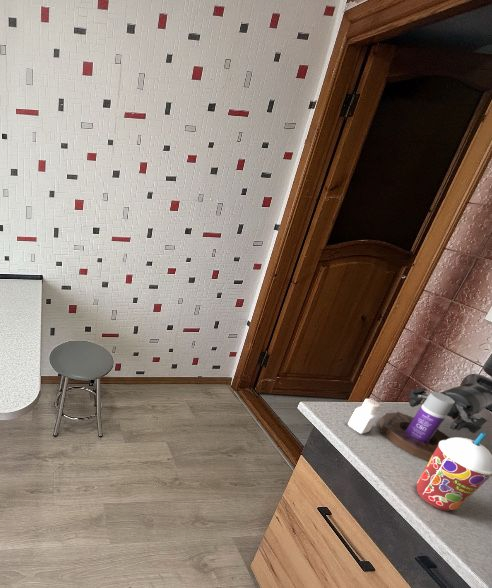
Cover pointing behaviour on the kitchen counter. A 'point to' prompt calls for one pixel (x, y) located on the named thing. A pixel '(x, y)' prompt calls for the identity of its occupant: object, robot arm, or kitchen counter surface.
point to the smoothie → (455, 472)
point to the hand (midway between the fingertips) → (432, 414)
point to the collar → (393, 431)
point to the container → (430, 417)
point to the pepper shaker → (364, 416)
